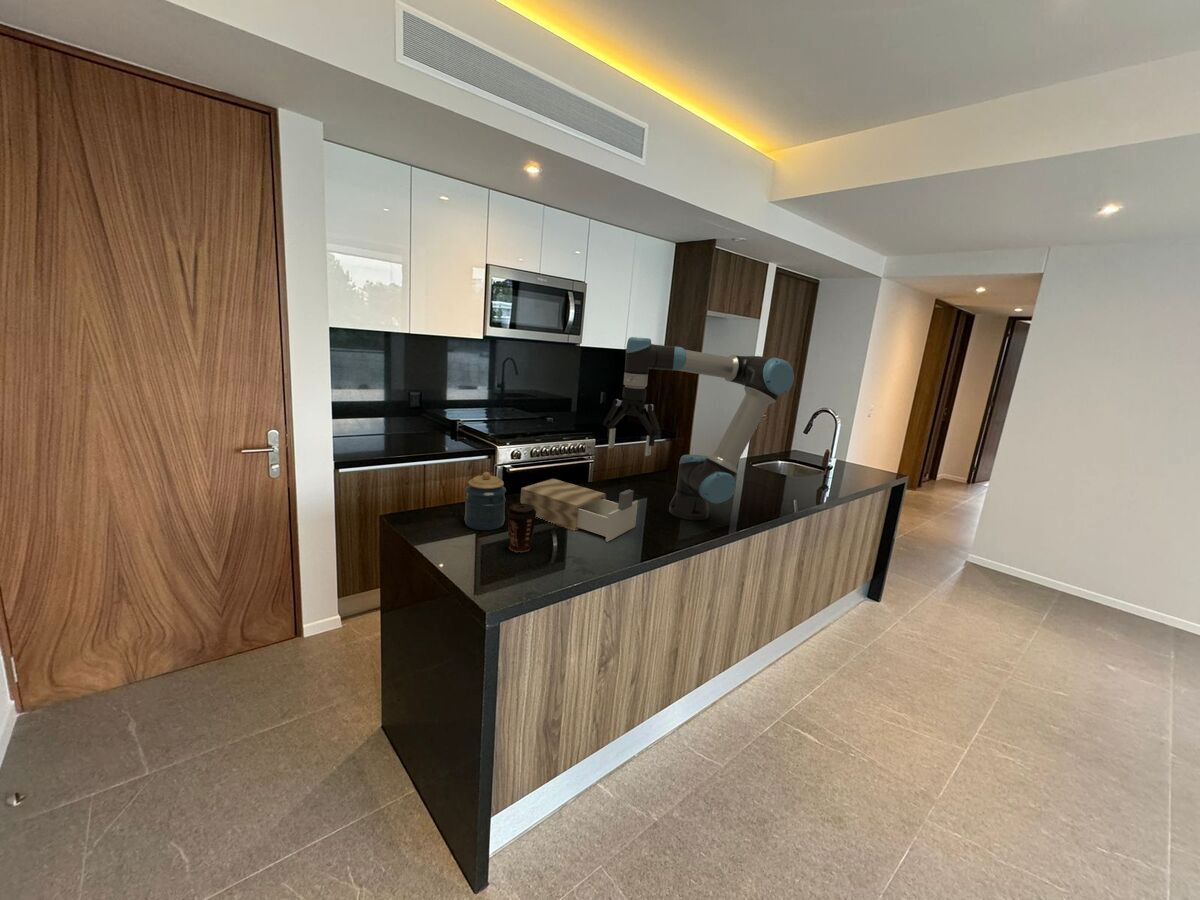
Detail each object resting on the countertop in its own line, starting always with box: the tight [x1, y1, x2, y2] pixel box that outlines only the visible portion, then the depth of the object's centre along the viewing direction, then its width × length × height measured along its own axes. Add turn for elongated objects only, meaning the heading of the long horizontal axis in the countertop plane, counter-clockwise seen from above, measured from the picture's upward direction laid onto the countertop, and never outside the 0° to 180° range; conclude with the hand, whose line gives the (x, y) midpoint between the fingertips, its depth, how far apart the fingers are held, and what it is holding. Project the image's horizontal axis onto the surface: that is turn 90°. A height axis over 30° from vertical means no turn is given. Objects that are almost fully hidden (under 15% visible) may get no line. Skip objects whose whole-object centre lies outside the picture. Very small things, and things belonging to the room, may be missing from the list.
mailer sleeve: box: [519, 478, 607, 532], centre depth 178 cm, size 24×18×9 cm
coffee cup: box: [506, 502, 537, 553], centre depth 148 cm, size 9×8×13 cm
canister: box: [464, 471, 507, 531], centre depth 163 cm, size 13×13×18 cm
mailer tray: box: [576, 489, 639, 543], centre depth 170 cm, size 25×18×15 cm
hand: (629, 451), depth 165 cm, fingers open, 13 cm apart
